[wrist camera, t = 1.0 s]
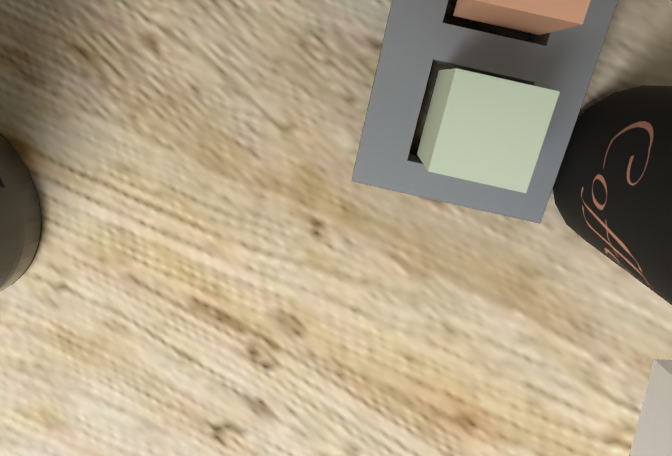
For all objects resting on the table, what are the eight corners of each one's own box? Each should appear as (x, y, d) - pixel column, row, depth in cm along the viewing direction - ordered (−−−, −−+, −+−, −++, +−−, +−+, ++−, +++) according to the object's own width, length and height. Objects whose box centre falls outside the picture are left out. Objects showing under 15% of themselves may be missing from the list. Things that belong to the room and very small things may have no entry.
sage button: (416, 153, 31) (428, 171, 25) (438, 70, 29) (456, 68, 24) (496, 172, 31) (526, 193, 25) (522, 88, 30) (560, 91, 24)
